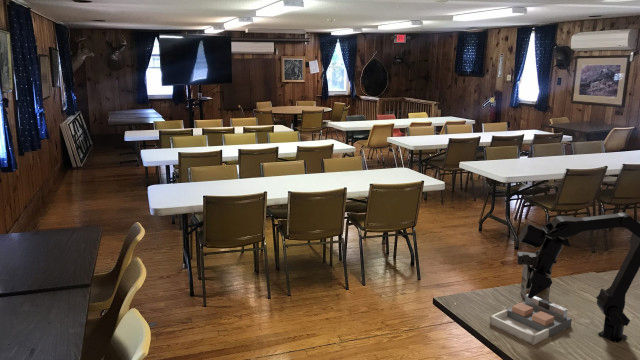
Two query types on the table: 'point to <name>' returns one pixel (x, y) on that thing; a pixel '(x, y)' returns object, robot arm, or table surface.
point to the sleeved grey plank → (547, 307)
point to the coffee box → (525, 291)
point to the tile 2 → (543, 318)
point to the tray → (518, 328)
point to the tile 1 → (522, 309)
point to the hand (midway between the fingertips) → (528, 292)
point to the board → (553, 327)
